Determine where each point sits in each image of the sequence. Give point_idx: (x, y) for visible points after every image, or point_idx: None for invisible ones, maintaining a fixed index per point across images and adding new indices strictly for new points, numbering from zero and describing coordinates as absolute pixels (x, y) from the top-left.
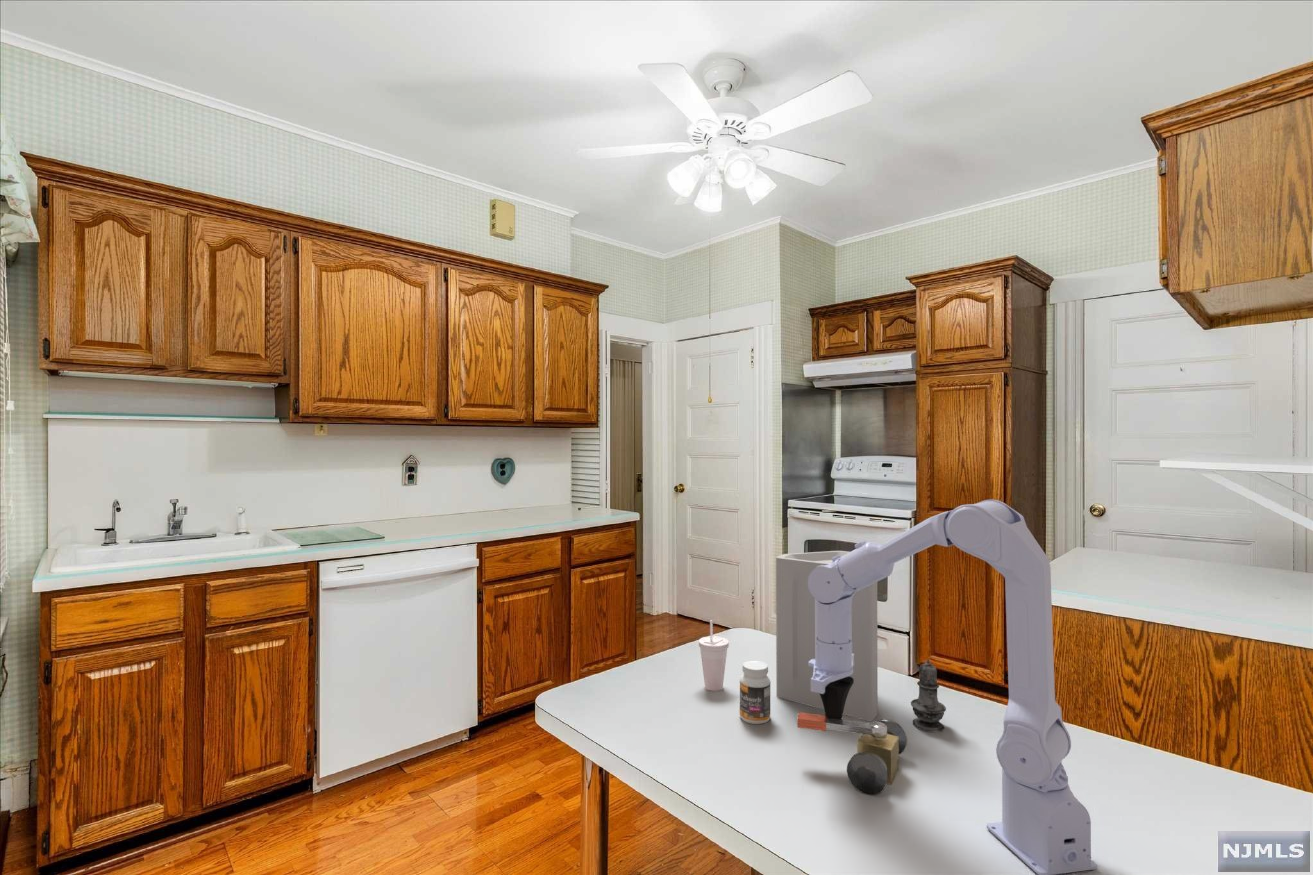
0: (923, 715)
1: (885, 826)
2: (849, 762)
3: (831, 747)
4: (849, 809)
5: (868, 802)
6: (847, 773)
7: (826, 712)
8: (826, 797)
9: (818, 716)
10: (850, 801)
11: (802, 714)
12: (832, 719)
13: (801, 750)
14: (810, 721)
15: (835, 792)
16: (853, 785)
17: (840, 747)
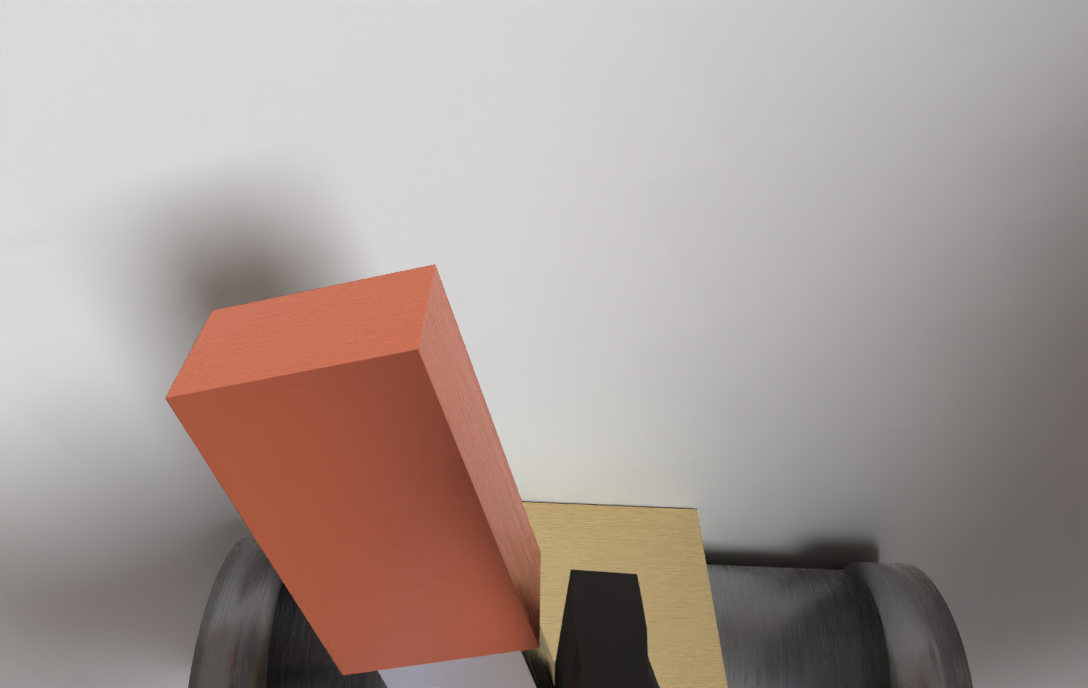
0: None
1: (52, 662)
2: (196, 653)
3: (811, 274)
4: (40, 528)
5: (196, 585)
6: (224, 565)
7: (573, 669)
8: (41, 406)
9: (448, 591)
10: (125, 518)
11: (374, 417)
12: (505, 686)
13: (625, 43)
14: (261, 531)
15: (148, 436)
16: (251, 536)
17: (840, 334)
